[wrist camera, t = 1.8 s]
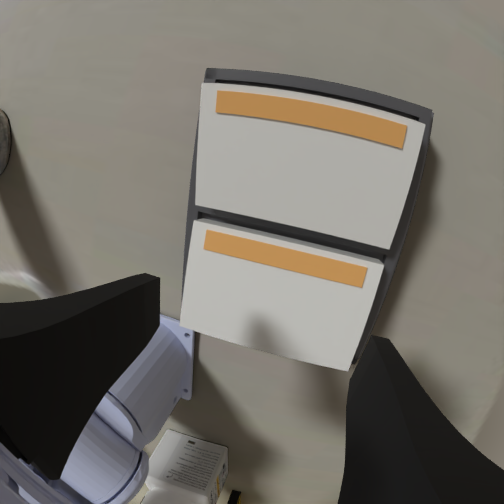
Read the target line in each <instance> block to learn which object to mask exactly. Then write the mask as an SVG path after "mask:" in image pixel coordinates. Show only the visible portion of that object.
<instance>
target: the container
mask: <svg viewBox="0 0 504 504" xmlns="http://www.w3.org/2000/svg"><path fill="white" fill-rule="evenodd" d="M227 475H228V449H227V447H225V446H221V445H218V444H214V443H211V442H207V441H204V440H201V439H197V438H194V437H191V436H188V435H185V434H182V433H179V432H176V431H173V430H170V429H168V430H167V431H166V432H165V434H164V436H163V437H162V439H161V441H160V442H159V444H158V446H157V447H156V449H155V450H154V452H153V454H152V455H151V457H150V459H149V472H148V476H147V478H146V480H145V484H146V485H147V487H148V489H149V490H150V491H147V493H146V494H145V496H144V498H143V499H142V501H141V503H140V504H216V502H217V500H218V498H219V495H220V493H221V490H222V488H223V485H224V483H225V480H226V478H227Z"/></svg>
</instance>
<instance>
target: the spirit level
mask: <svg viewBox="0 0 504 504" xmlns="http://www.w3.org/2000/svg"><path fill="white" fill-rule="evenodd" d="M240 494H241V492H238V491H234V490H232V492H231V495H230V498H229V500H228V503H227V504H240Z"/></svg>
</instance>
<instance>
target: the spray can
mask: <svg viewBox="0 0 504 504" xmlns="http://www.w3.org/2000/svg"><path fill="white" fill-rule="evenodd" d="M10 140H11V138H10V128H9V124H8V119H7V117H6V115H5V114H4V112H3V111H2V110H1V109H0V174H1V173H2V172H3V170H4V168H5V167H6V164H7V162H8V158H9V152H10V145H11V142H10Z"/></svg>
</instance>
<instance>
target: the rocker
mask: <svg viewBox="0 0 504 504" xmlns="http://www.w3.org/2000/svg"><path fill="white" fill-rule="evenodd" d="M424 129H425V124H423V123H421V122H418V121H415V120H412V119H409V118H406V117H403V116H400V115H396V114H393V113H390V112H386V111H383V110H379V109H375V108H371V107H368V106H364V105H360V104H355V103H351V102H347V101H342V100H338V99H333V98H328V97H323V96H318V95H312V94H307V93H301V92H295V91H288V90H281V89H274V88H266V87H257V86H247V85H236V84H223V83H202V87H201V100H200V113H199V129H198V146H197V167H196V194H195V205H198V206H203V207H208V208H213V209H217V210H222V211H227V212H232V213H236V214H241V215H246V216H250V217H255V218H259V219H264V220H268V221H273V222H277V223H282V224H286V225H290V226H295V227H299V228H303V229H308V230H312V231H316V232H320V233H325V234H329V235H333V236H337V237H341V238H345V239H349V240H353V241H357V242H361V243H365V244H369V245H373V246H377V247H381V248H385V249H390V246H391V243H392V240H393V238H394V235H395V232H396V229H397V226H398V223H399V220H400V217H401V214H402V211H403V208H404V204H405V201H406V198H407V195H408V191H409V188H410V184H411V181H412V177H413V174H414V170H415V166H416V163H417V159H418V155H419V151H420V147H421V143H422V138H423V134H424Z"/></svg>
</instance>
